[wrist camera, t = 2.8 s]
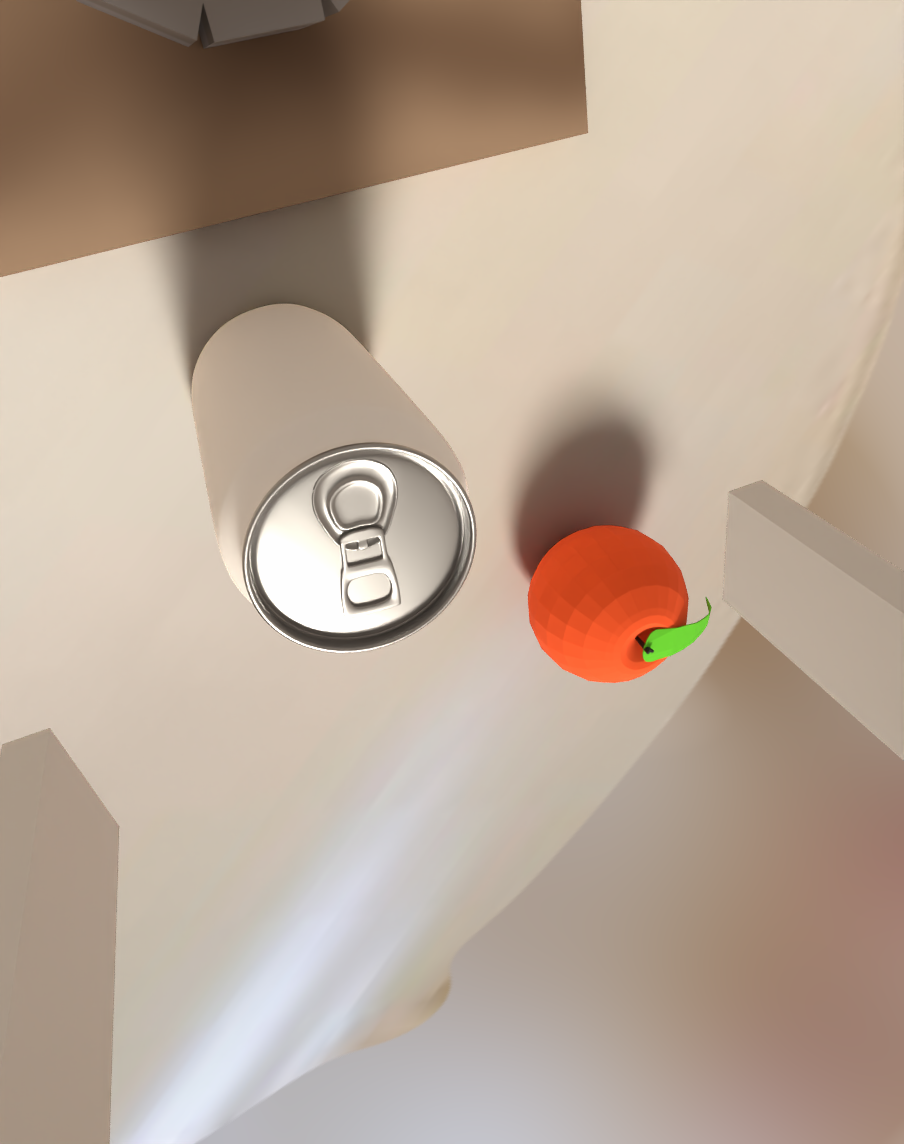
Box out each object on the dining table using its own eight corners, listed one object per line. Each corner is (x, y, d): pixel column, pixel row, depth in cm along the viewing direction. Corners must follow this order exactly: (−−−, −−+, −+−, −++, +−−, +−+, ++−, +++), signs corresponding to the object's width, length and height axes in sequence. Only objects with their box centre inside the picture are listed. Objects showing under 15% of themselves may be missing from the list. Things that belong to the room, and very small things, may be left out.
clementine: (663, 484, 35) (763, 559, 30) (642, 605, 39) (728, 692, 34) (506, 511, 33) (582, 597, 28) (500, 637, 37) (566, 735, 31)
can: (359, 287, 26) (489, 399, 17) (381, 457, 30) (497, 630, 20) (167, 315, 25) (188, 457, 15) (214, 491, 28) (255, 696, 19)
